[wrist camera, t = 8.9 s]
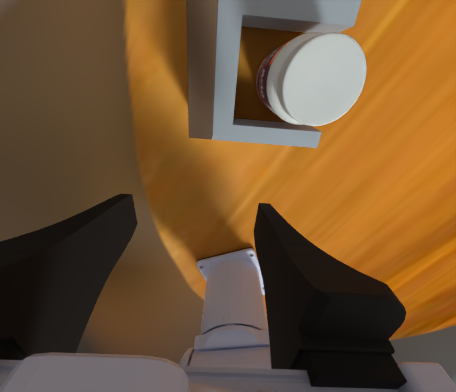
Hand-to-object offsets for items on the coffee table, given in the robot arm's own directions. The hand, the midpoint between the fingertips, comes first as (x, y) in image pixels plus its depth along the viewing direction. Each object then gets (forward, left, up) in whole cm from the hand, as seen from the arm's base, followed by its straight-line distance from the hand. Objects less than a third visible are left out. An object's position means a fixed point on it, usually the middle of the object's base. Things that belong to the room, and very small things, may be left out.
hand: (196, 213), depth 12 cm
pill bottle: (+4, -8, -10) cm, 14 cm away
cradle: (+5, -7, -10) cm, 13 cm away
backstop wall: (+7, -3, -10) cm, 12 cm away
